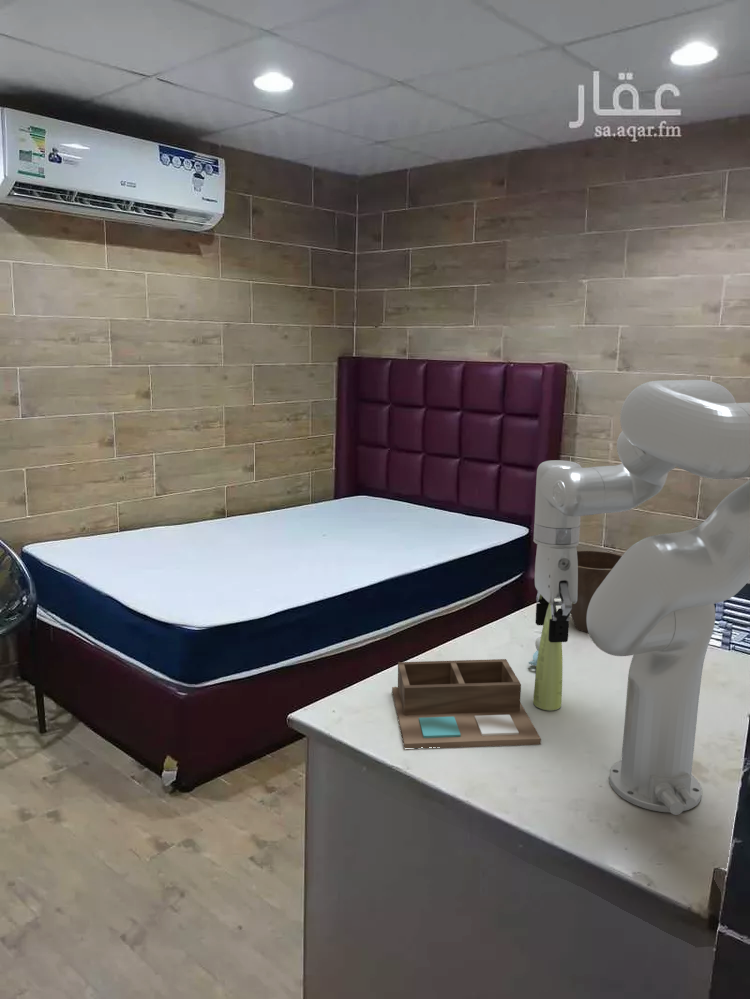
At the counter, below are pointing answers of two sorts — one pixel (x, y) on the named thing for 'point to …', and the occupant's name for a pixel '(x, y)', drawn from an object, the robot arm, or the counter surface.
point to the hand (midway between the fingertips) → (551, 632)
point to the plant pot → (590, 581)
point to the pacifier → (535, 655)
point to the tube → (548, 670)
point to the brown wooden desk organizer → (461, 705)
